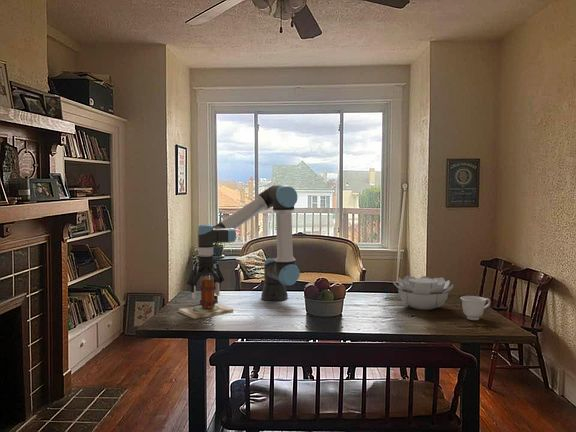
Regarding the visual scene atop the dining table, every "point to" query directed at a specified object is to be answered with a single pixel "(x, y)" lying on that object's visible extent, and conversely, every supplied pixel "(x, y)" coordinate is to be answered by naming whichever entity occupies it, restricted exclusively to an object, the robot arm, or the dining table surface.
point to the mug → (207, 293)
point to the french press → (214, 284)
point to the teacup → (474, 306)
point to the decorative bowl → (423, 291)
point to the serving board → (205, 311)
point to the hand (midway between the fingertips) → (205, 297)
